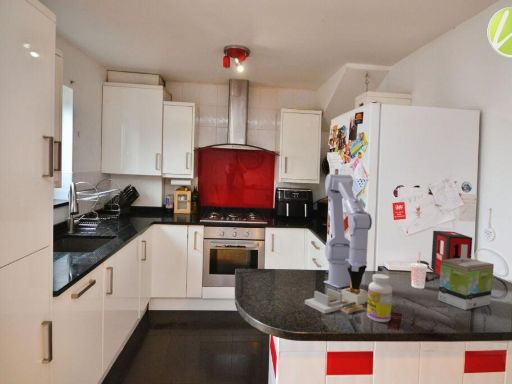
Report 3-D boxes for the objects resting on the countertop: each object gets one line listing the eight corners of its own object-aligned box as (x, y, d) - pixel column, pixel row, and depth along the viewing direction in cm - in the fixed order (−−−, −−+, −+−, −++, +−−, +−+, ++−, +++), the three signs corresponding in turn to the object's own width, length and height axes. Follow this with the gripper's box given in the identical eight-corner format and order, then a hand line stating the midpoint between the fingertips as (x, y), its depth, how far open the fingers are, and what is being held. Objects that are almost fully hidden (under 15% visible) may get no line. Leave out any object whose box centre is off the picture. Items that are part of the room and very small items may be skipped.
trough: (354, 305, 105) (354, 300, 105) (362, 309, 102) (362, 303, 102) (339, 309, 101) (339, 304, 101) (347, 313, 98) (347, 307, 98)
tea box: (466, 311, 104) (469, 266, 104) (437, 300, 113) (439, 259, 113) (491, 304, 111) (494, 262, 111) (462, 295, 120) (464, 256, 120)
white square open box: (354, 295, 115) (354, 286, 115) (370, 302, 109) (370, 292, 109) (341, 298, 111) (341, 289, 111) (357, 305, 105) (357, 296, 105)
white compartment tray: (330, 297, 112) (330, 285, 112) (350, 306, 104) (351, 293, 104) (304, 303, 105) (305, 291, 105) (324, 313, 98) (325, 300, 97)
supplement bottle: (363, 313, 99) (365, 272, 99) (383, 313, 100) (386, 272, 99) (372, 323, 92) (375, 279, 92) (394, 323, 93) (397, 279, 92)
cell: (350, 289, 112) (351, 271, 112) (360, 291, 111) (361, 272, 111) (349, 292, 109) (350, 273, 109) (359, 294, 108) (360, 275, 108)
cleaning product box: (469, 285, 134) (472, 237, 133) (446, 283, 135) (449, 236, 134) (450, 274, 150) (453, 231, 149) (430, 272, 151) (433, 230, 150)
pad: (327, 297, 107) (327, 294, 107) (336, 301, 104) (336, 298, 104) (319, 299, 105) (319, 296, 105) (328, 303, 102) (328, 300, 102)
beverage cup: (409, 287, 127) (411, 252, 126) (408, 283, 133) (410, 249, 132) (427, 290, 125) (429, 254, 124) (425, 285, 130) (427, 251, 130)
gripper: (349, 243, 118) (347, 279, 118) (343, 250, 104) (341, 291, 105) (369, 245, 115) (367, 283, 115) (365, 253, 102) (363, 295, 102)
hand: (356, 287), depth 110 cm, fingers closed on cell, 3 cm apart
